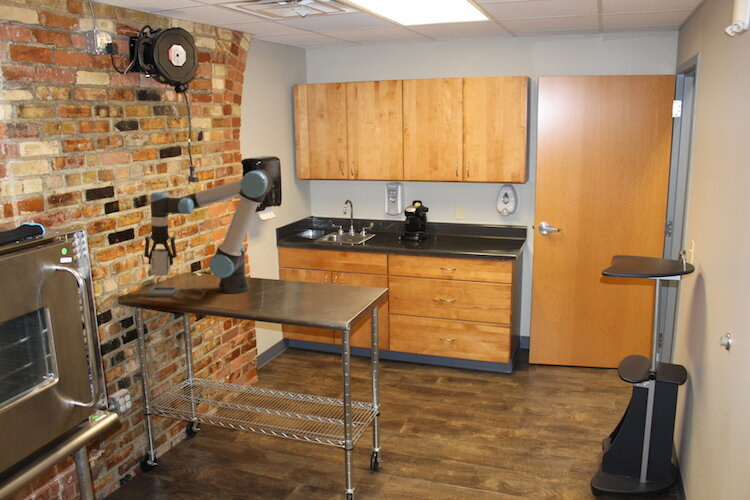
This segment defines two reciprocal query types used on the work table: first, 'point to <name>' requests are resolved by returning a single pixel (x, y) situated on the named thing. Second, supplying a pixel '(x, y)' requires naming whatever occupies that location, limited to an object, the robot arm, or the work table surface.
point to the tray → (162, 292)
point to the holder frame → (190, 296)
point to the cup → (160, 262)
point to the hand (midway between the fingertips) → (161, 271)
